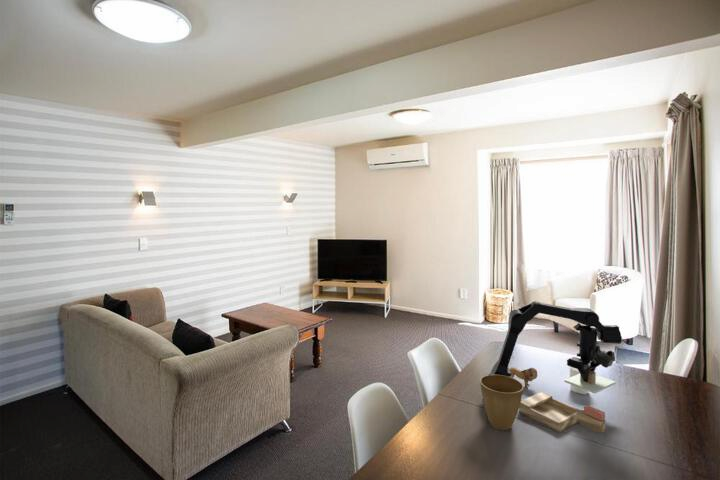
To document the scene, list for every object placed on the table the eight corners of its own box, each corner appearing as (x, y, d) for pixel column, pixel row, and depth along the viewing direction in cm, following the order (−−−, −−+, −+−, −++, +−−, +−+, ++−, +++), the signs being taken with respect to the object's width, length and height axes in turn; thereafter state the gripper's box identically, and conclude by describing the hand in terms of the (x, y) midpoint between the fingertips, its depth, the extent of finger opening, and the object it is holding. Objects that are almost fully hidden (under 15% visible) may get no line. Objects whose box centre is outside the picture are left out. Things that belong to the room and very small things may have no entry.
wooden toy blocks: (582, 444, 119) (582, 432, 119) (519, 412, 140) (519, 401, 140) (605, 430, 127) (605, 418, 127) (542, 401, 148) (542, 391, 147)
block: (601, 420, 125) (601, 414, 125) (583, 413, 130) (584, 406, 130) (605, 418, 126) (605, 412, 126) (587, 411, 131) (587, 405, 131)
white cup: (584, 386, 160) (584, 364, 159) (594, 395, 152) (594, 372, 151) (565, 386, 160) (566, 364, 160) (574, 394, 153) (575, 371, 152)
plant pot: (497, 440, 123) (496, 395, 122) (472, 417, 137) (472, 377, 136) (532, 432, 127) (532, 388, 126) (505, 411, 141) (505, 371, 140)
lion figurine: (539, 386, 161) (539, 367, 160) (535, 391, 157) (535, 371, 156) (506, 377, 171) (506, 359, 170) (502, 381, 167) (502, 362, 166)
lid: (594, 395, 131) (595, 380, 130) (564, 383, 140) (564, 369, 140) (615, 385, 138) (615, 371, 138) (585, 374, 148) (585, 361, 148)
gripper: (597, 353, 126) (597, 395, 127) (623, 343, 135) (622, 382, 136) (566, 343, 136) (565, 383, 137) (592, 335, 145) (592, 372, 146)
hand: (587, 380), depth 139 cm, fingers closed on lid, 2 cm apart
